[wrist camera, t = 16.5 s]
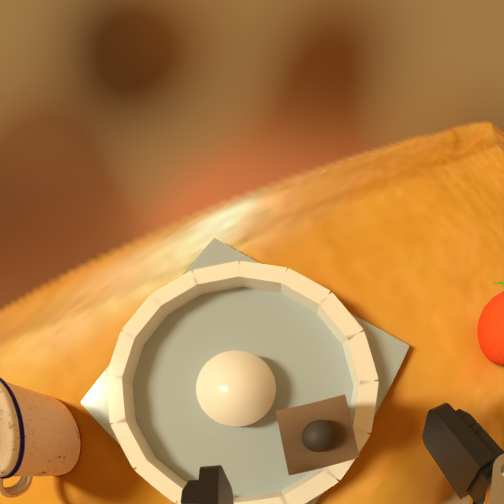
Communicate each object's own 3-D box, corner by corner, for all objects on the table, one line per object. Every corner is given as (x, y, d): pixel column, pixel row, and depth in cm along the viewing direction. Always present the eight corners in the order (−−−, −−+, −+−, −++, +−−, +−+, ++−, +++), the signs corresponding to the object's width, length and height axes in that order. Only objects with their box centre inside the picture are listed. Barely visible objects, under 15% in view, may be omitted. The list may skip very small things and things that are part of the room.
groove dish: (216, 243, 31) (210, 225, 29) (405, 348, 24) (418, 338, 21) (85, 404, 23) (67, 399, 20) (271, 547, 15) (270, 560, 13)
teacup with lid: (31, 382, 24) (-50, 347, 14) (92, 412, 22) (2, 389, 13) (15, 473, 18) (-65, 464, 8) (75, 514, 16) (-9, 528, 7)
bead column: (277, 415, 21) (275, 409, 12) (320, 405, 21) (350, 391, 12) (285, 455, 19) (289, 479, 10) (328, 445, 19) (366, 459, 10)
